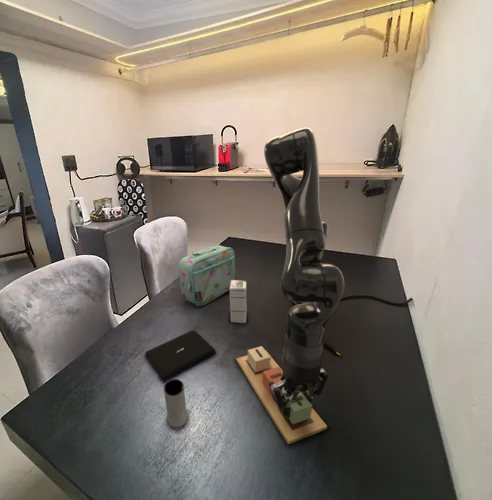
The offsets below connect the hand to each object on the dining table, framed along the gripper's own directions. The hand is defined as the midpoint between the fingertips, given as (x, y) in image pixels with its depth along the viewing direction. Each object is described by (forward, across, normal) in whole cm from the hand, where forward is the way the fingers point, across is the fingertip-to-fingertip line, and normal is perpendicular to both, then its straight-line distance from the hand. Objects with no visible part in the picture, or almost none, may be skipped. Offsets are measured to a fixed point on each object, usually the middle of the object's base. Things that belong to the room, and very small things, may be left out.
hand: (295, 410), depth 60 cm
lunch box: (+3, +1, +58) cm, 58 cm away
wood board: (+2, 0, +8) cm, 8 cm away
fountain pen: (+3, +23, +18) cm, 30 cm away
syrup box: (+3, +5, +39) cm, 39 cm away
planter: (+3, -26, +9) cm, 28 cm away
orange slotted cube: (+1, 0, +8) cm, 8 cm away
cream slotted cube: (+1, 0, +16) cm, 16 cm away
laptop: (+3, -20, +29) cm, 35 cm away
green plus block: (0, 0, 0) cm, 0 cm away
